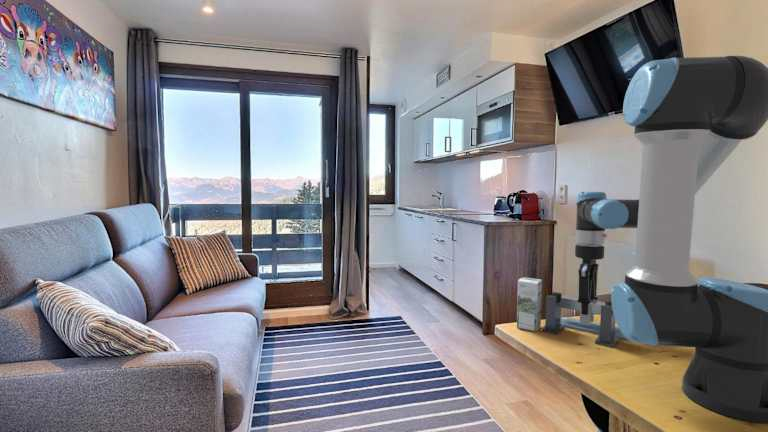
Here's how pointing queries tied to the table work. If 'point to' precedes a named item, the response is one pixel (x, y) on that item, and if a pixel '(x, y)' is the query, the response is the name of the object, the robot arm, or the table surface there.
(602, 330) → the post near
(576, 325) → the mat
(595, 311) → the rail
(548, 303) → the post far
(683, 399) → the table surface
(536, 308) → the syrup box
